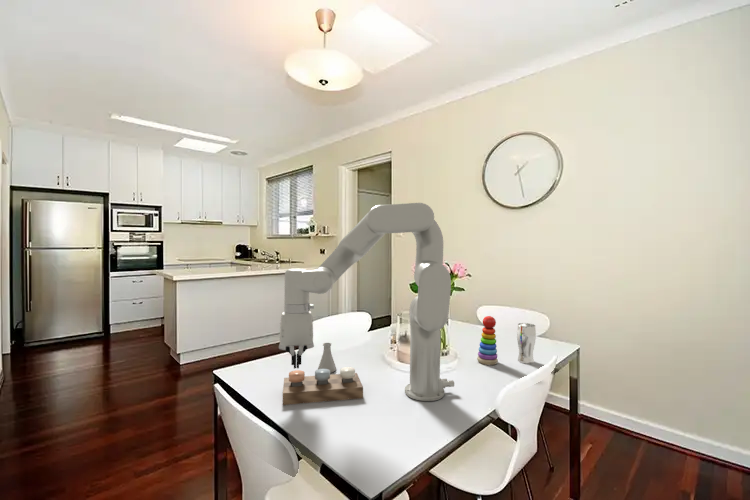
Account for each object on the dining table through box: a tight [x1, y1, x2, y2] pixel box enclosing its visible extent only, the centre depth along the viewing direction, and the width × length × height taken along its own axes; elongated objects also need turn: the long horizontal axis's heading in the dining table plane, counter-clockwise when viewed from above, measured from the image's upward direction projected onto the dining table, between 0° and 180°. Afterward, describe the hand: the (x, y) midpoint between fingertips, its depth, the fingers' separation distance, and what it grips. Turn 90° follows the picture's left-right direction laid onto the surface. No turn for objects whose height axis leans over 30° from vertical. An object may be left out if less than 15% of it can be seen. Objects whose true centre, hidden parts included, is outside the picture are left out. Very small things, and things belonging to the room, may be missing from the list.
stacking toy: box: [476, 315, 499, 366], centre depth 145 cm, size 8×8×19 cm
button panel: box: [282, 372, 364, 406], centre depth 114 cm, size 24×12×4 cm, turn 102°
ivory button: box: [339, 366, 356, 383], centre depth 116 cm, size 5×5×6 cm
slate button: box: [314, 368, 331, 385], centre depth 114 cm, size 5×5×6 cm
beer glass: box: [516, 322, 537, 365], centre depth 146 cm, size 7×7×15 cm
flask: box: [317, 342, 337, 374], centre depth 134 cm, size 7×7×10 cm
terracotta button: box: [288, 369, 306, 387], centre depth 113 cm, size 5×5×6 cm
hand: (296, 366), depth 112 cm, fingers closed
